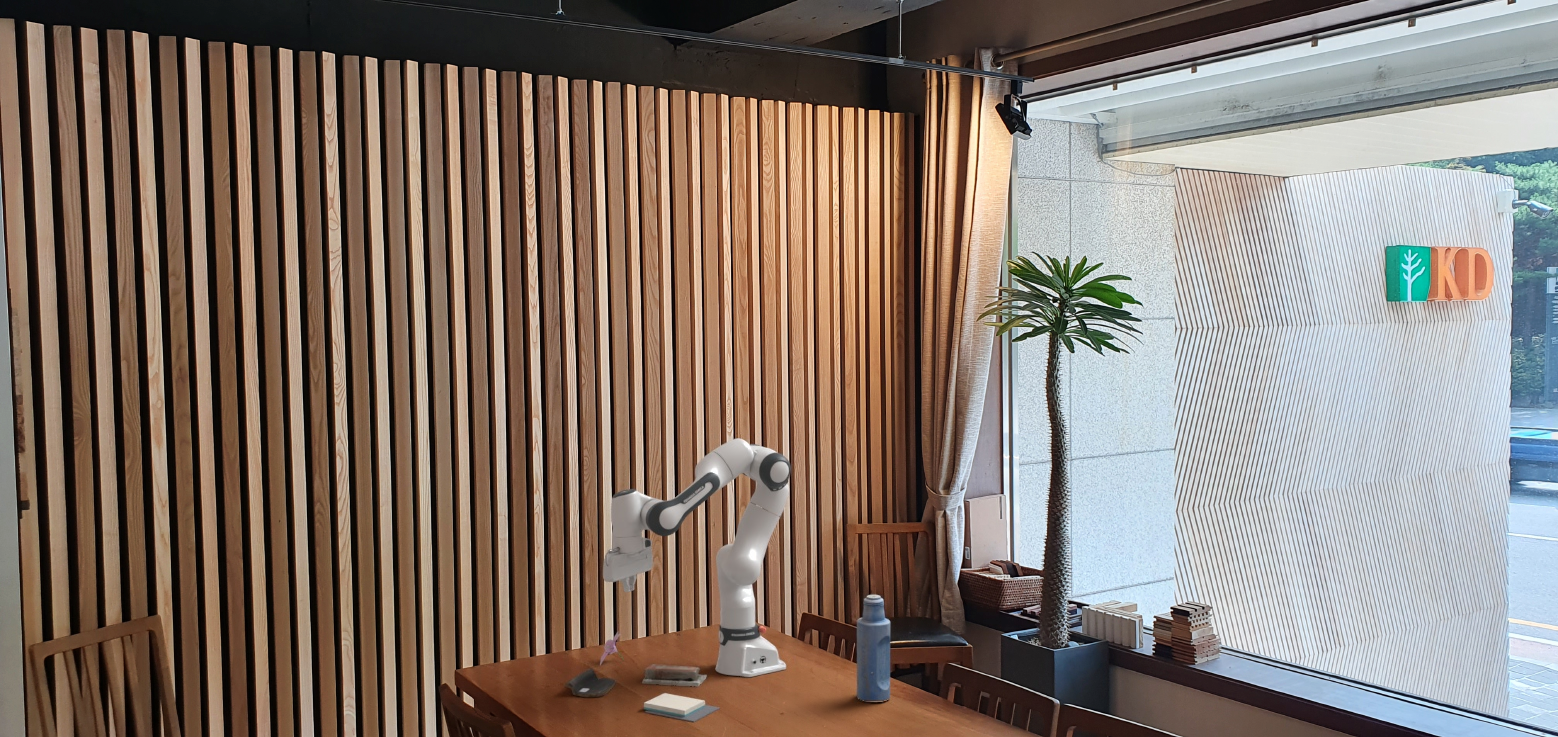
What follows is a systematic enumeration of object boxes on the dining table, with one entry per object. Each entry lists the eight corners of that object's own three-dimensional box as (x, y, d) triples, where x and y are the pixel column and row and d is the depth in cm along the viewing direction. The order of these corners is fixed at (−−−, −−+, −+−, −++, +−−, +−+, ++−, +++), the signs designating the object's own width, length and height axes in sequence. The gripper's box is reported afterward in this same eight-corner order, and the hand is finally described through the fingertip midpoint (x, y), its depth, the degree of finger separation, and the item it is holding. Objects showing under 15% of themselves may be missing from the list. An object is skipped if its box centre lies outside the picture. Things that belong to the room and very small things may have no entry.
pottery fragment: (599, 699, 319) (599, 685, 319) (561, 696, 322) (562, 681, 322) (618, 684, 333) (618, 670, 333) (582, 681, 336) (582, 667, 336)
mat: (645, 712, 306) (645, 711, 306) (671, 699, 318) (671, 698, 318) (694, 721, 298) (694, 720, 298) (719, 708, 310) (719, 707, 310)
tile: (643, 702, 308) (684, 710, 302) (664, 692, 317) (704, 700, 310) (643, 708, 308) (684, 716, 302) (664, 699, 317) (705, 706, 310)
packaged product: (641, 669, 333) (651, 660, 343) (641, 685, 333) (651, 675, 343) (698, 672, 330) (707, 663, 340) (698, 688, 330) (707, 678, 340)
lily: (609, 657, 366) (595, 634, 363) (639, 646, 363) (625, 622, 360) (599, 678, 354) (585, 655, 352) (630, 667, 351) (616, 643, 349)
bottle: (871, 691, 325) (871, 590, 325) (897, 698, 318) (897, 595, 318) (850, 698, 318) (849, 595, 318) (875, 705, 311) (875, 600, 311)
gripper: (614, 551, 314) (616, 599, 314) (655, 539, 332) (657, 584, 332) (596, 550, 317) (598, 597, 317) (638, 538, 335) (640, 583, 335)
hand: (629, 591), depth 325 cm, fingers closed
